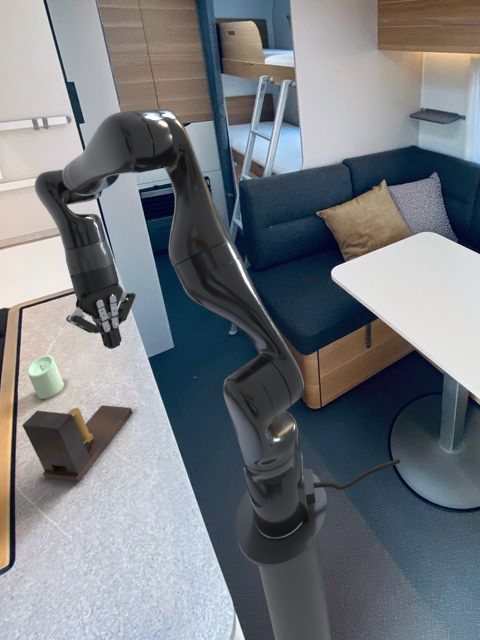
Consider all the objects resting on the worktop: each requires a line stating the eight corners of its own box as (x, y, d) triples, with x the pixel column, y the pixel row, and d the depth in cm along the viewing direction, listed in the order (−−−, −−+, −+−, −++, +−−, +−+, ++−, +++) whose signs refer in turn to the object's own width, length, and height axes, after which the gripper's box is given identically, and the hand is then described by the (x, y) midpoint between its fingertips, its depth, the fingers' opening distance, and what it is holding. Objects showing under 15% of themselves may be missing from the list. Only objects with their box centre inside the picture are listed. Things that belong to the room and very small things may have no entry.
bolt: (84, 436, 82) (72, 407, 79) (93, 437, 82) (82, 408, 79) (60, 466, 77) (46, 435, 74) (69, 467, 76) (56, 436, 73)
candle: (57, 396, 94) (46, 369, 91) (33, 401, 93) (20, 373, 90) (68, 380, 98) (57, 353, 95) (44, 383, 97) (33, 357, 94)
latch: (103, 410, 90) (85, 363, 85) (132, 412, 89) (116, 365, 84) (45, 478, 76) (19, 427, 71) (78, 482, 76) (55, 431, 70)
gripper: (114, 257, 90) (134, 331, 92) (44, 278, 78) (69, 363, 80) (134, 255, 86) (154, 332, 88) (64, 277, 75) (89, 365, 76)
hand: (113, 346), depth 84 cm, fingers closed
